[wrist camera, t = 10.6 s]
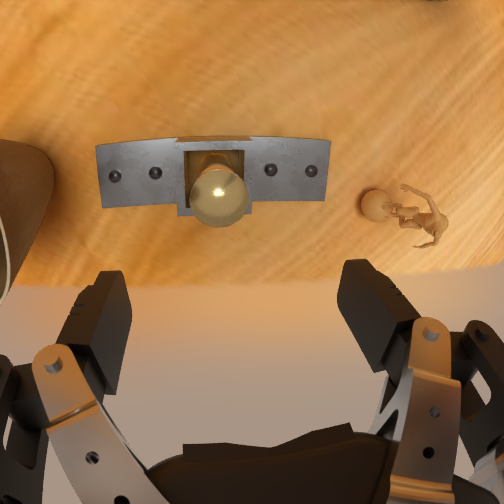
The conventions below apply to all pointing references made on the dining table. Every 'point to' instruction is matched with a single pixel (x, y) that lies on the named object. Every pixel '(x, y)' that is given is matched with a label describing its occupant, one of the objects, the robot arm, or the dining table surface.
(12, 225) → the plant pot
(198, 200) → the pin
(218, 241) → the dining table surface
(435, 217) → the figurine
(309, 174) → the slotted door latch plate
